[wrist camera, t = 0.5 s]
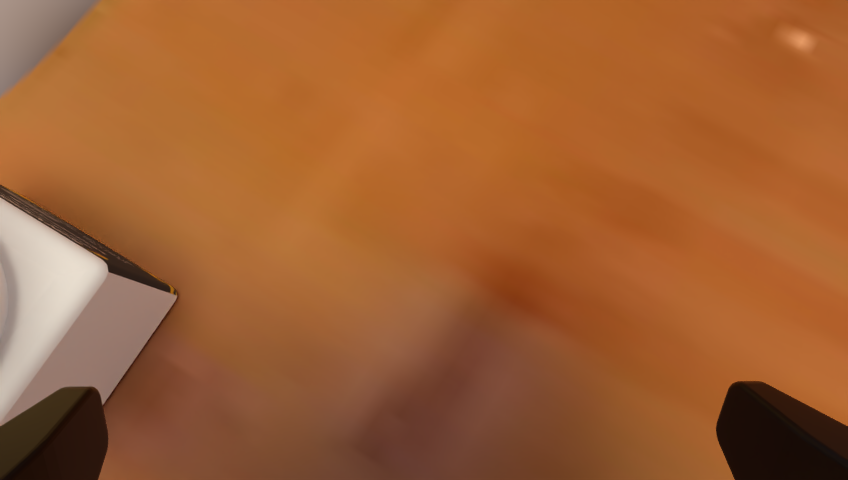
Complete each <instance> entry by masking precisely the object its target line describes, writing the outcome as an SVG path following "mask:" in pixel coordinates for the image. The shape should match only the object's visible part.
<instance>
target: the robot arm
mask: <svg viewBox="0 0 848 480" xmlns="http://www.w3.org/2000/svg"><path fill="white" fill-rule="evenodd" d="M716 433H717V438H718V441H719V444H720V446H721V449H722V451H723V453H724V456H725V458H726V460H727V463H728V465H729V467H730V470H731V472H732V474H733V477H734V479H735V480H848V426H846V425H844V424H842V423H840V422H838V421H836V420H834V419H833V418H831V417H829V416H827V415H825V414H823V413H821V412H819V411H817V410H815V409H813V408H812V407H810V406H808V405H806V404H804V403H802V402H800V401H798V400H796V399H794V398H793V397H791V396H789V395H787V394H785V393H783V392H781V391H779V390H777V389H775V388H774V387H772V386H770V385H768V384H766V383H764V382H760V381H738V382H735V383H733V384H732V385H731V386H730V387H729V389H728V392H727V395H726V398H725V401H724V403H723V406H722V409H721V412H720V415H719V418H718V421H717V426H716ZM107 447H108V430H107V425H106V420H105V415H104V410H103V405H102V400H101V396H100V393H99V391H98V389H96V388H95V387H92V386H68V387H63V388H60V389H59V390H57V391H55V392H54V393H52V394H50V395H49V396H47V397H46V398H44V399H43V400H41V401H39V402H38V403H36V404H35V405H33V406H32V407H30V408H28V409H27V410H25V411H24V412H22V413H20V414H19V415H17V416H16V417H14V418H13V419H11V420H9V421H8V422H6V423H5V424H3V425H2V426H0V480H98V478H99V475H100V472H101V468H102V465H103V462H104V459H105V455H106V452H107Z"/></svg>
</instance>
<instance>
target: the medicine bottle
mask: <svg viewBox="0 0 848 480" xmlns="http://www.w3.org/2000/svg"><path fill="white" fill-rule="evenodd" d="M176 298H177V292H176V290H175V289H174V288H173V287H172V286H171V285H169V284H167V283H166V282H164V281H162V280H161V279H159V278H157V277H156V276H154V275H152V274H151V273H149V272H148V271H146V270H144V269H143V268H141V267H139V266H138V265H136V264H134V263H133V262H131V261H129V260H128V259H126V258H125V257H123V256H121V255H120V254H118V253H116V252H115V251H113V250H111V249H110V248H108V247H106V246H105V245H103V244H102V243H100V242H98V241H97V240H95V239H93V238H92V237H90V236H88V235H87V234H85V233H83V232H82V231H80V230H79V229H77V228H75V227H74V226H72V225H70V224H69V223H67V222H65V221H64V220H62V219H60V218H59V217H57V216H55V215H54V214H52V213H51V212H49V211H47V210H46V209H44V208H42V207H41V206H39V205H37V204H36V203H34V202H32V201H31V200H29V199H28V198H26V197H24V196H23V195H21V194H19V193H17V192H15V191H13V190H11V189H9V188H7V187H5V186H2V185H0V426H2V425H3V424H5V423H6V422H8V421H9V420H11V419H13V418H14V417H16V416H17V415H19V414H20V413H22V412H24V411H25V410H27V409H28V408H30V407H32V406H33V405H35V404H36V403H38V402H39V401H41V400H43V399H44V398H46V397H47V396H49V395H50V394H52V393H54V392H55V391H57V390H59V389H60V388H63V387H68V386H92V387H95V388H96V389H98V391H99V393H100V396H101V400H102V405H103V404H104V403H105V401H106V400H107V399H108V397H109V396H110V394H111V393H112V391H113V390H114V388H115V387H116V386H117V384H118V383H119V381H120V380H121V378H122V377H123V376H124V374H125V373H126V371H127V370H128V368H129V367H130V365H131V364H132V363H133V361H134V360H135V358H136V357H137V355H138V354H139V353H140V351H141V350H142V348H143V347H144V345H145V344H146V342H147V341H148V340H149V338H150V337H151V335H152V334H153V332H154V331H155V330H156V328H157V327H158V325H159V324H160V322H161V321H162V319H163V318H164V317H165V315H166V314H167V312H168V311H169V309H170V308H171V307H172V305H173V304H174V302H175V301H176Z"/></svg>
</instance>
